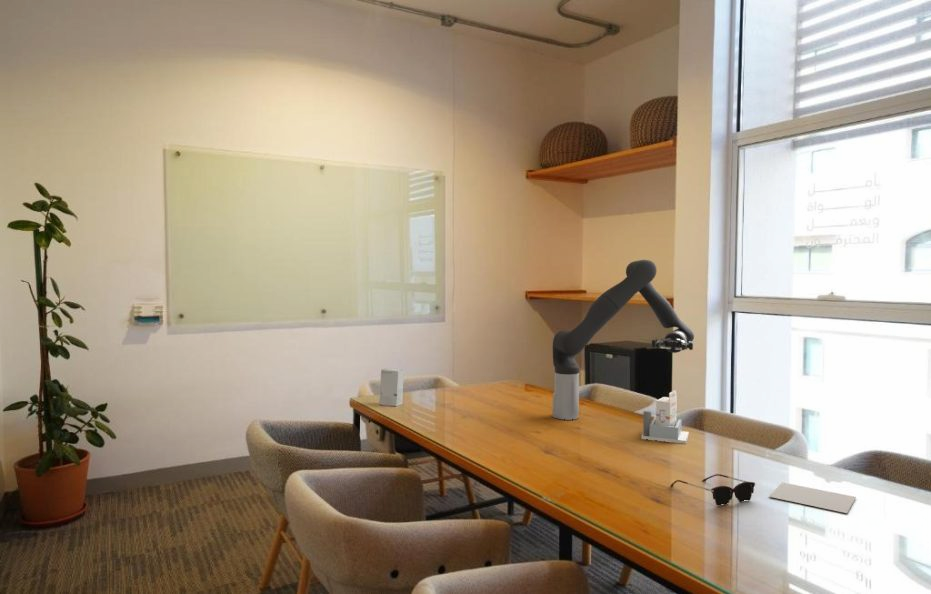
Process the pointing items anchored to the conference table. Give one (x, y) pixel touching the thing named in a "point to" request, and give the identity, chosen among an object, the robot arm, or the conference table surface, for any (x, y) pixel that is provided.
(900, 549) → the conference table surface
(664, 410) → the ink cartridge box
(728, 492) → the sunglasses
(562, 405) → the robot arm
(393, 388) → the skincare box
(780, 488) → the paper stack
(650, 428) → the keeper cradle
